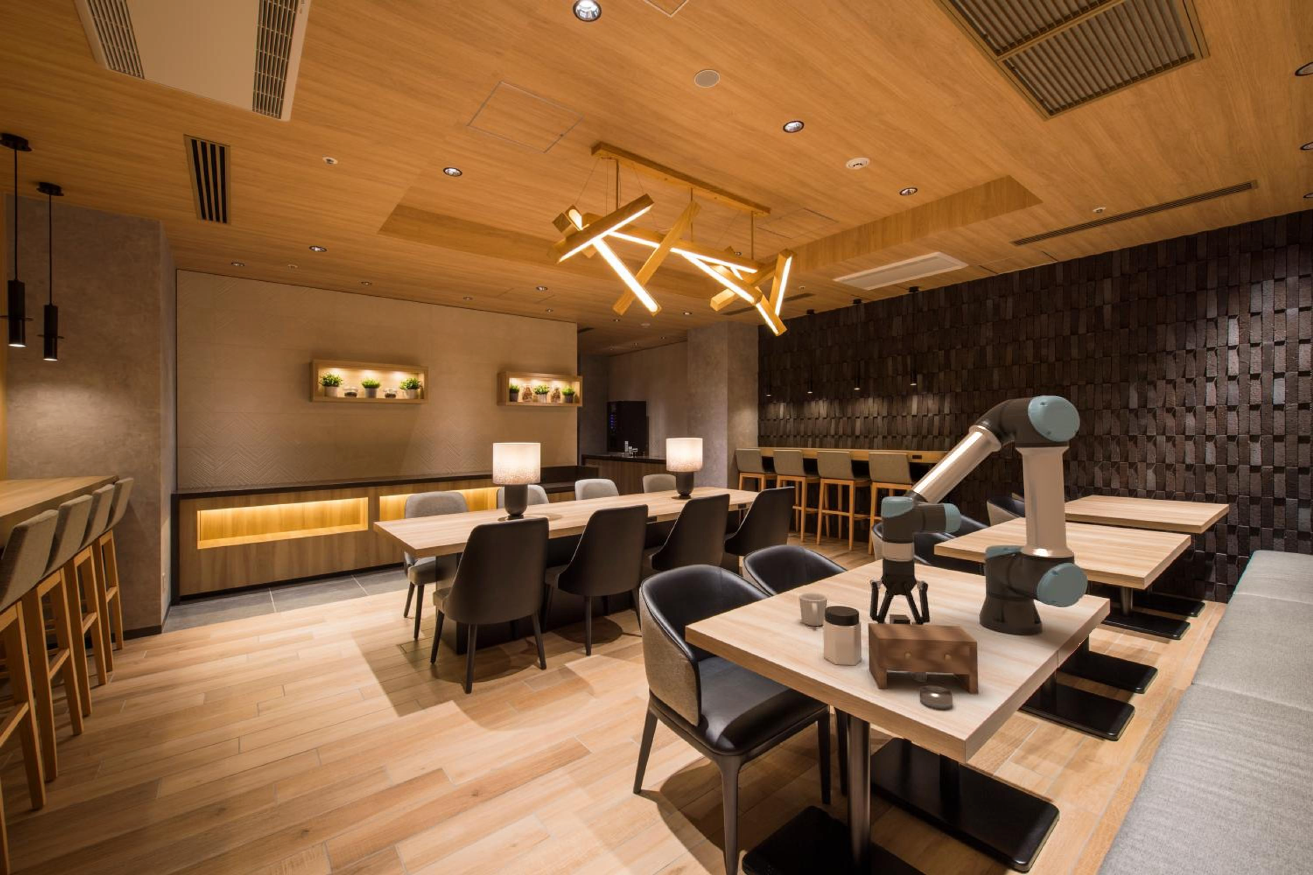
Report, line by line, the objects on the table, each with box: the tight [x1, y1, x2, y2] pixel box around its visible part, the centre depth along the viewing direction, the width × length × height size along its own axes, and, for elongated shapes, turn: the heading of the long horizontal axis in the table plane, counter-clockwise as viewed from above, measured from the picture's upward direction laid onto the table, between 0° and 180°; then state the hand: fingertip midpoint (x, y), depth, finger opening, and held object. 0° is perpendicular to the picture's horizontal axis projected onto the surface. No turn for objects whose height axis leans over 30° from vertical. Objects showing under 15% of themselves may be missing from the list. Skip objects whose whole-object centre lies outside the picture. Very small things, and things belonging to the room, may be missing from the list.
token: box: [919, 685, 954, 711], centre depth 114 cm, size 6×6×2 cm
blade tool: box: [888, 613, 928, 682], centre depth 133 cm, size 4×19×9 cm, turn 171°
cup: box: [798, 592, 828, 627], centre depth 163 cm, size 11×8×8 cm
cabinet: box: [867, 622, 979, 695], centre depth 124 cm, size 20×11×11 cm, turn 81°
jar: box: [822, 605, 863, 666], centre depth 137 cm, size 9×8×12 cm
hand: (900, 648), depth 141 cm, fingers open, 7 cm apart
